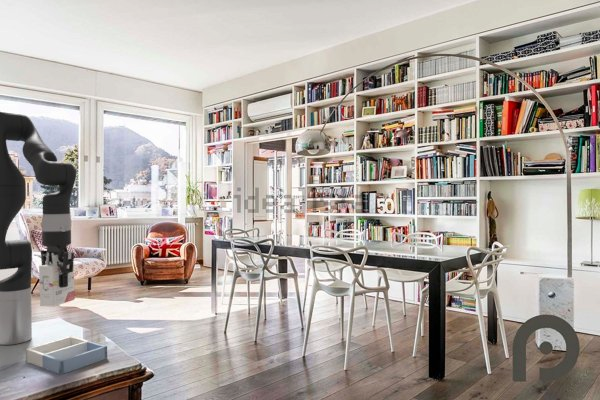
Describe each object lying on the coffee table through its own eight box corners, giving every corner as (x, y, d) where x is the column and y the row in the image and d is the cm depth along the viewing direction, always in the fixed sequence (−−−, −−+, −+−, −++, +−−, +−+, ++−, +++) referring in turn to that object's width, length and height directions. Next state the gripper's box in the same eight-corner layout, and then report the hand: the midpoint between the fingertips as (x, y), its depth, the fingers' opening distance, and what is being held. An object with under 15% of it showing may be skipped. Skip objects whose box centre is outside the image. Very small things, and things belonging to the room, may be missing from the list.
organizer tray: (25, 361, 125) (25, 349, 125) (71, 347, 137) (71, 335, 137) (60, 374, 115) (60, 361, 115) (107, 358, 127) (107, 346, 127)
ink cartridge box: (60, 299, 133) (60, 251, 133) (75, 299, 132) (74, 251, 132) (38, 306, 125) (38, 255, 125) (53, 307, 124) (53, 255, 124)
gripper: (30, 229, 129) (31, 285, 129) (57, 231, 121) (57, 291, 121) (56, 227, 135) (57, 281, 135) (82, 229, 127) (83, 286, 128)
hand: (57, 285), depth 128 cm, fingers closed on ink cartridge box, 6 cm apart
